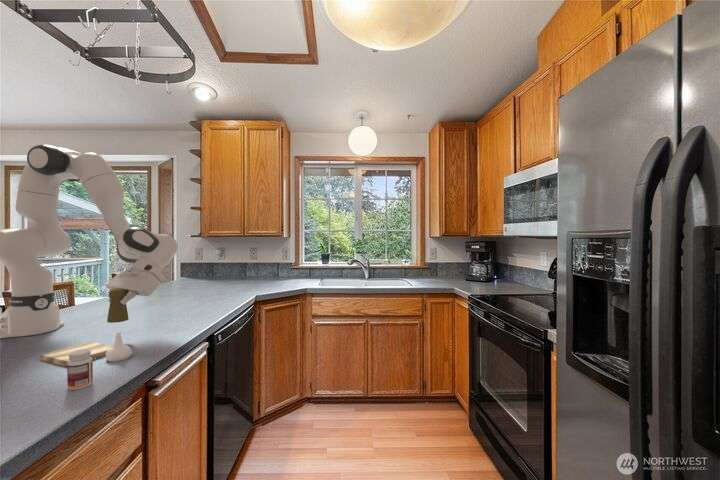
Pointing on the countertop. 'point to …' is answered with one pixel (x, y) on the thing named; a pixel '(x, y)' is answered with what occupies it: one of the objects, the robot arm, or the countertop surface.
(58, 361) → the birch board
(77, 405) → the countertop surface
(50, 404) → the countertop surface
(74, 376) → the pill bottle
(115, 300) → the cork
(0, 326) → the robot arm
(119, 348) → the garlic bulb
